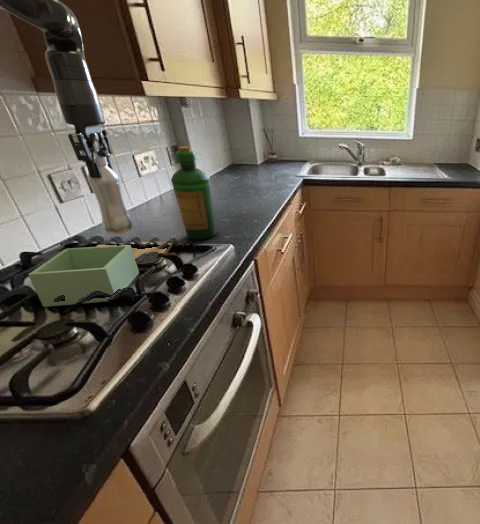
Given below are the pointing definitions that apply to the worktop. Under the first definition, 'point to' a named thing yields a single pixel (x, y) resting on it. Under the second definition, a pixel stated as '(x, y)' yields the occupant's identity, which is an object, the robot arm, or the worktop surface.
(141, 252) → the board
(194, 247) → the worktop surface
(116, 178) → the plastic bottle
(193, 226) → the bottle
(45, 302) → the bin
